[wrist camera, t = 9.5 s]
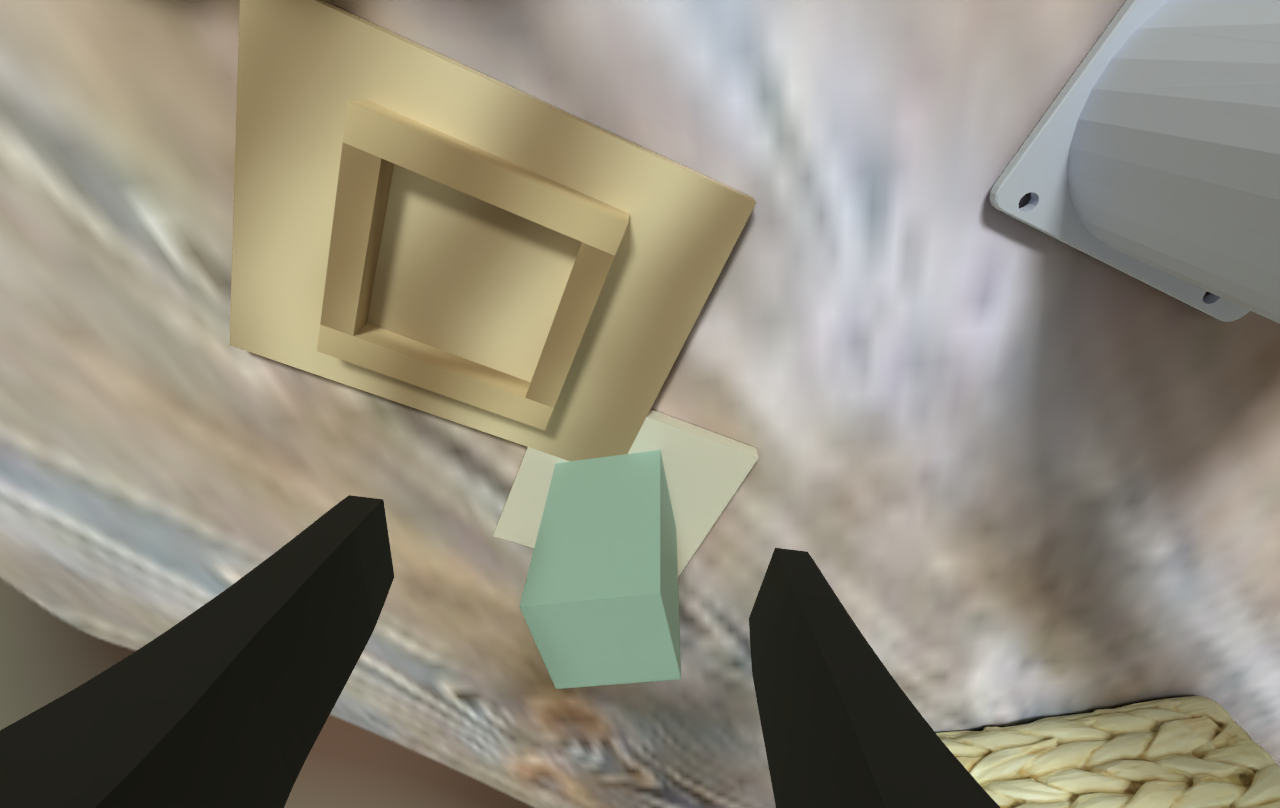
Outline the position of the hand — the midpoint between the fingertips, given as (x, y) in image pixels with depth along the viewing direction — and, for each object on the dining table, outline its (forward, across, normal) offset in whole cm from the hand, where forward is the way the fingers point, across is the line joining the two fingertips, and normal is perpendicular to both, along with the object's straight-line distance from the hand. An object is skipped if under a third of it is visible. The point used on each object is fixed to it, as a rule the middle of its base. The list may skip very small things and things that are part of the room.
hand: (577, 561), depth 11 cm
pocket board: (+10, +5, -1) cm, 11 cm away
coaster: (+10, -1, +7) cm, 12 cm away
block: (+10, -1, +7) cm, 12 cm away
